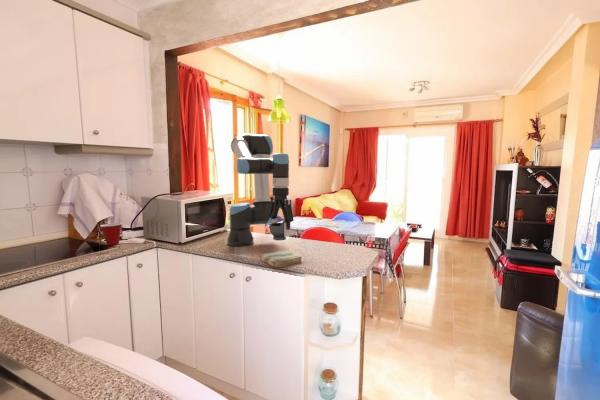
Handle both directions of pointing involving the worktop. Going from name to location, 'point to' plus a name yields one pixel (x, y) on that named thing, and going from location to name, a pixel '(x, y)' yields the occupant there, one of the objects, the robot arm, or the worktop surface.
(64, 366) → the worktop surface
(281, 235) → the mortar and pestle
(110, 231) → the plastic cup
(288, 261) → the beige flat pad
